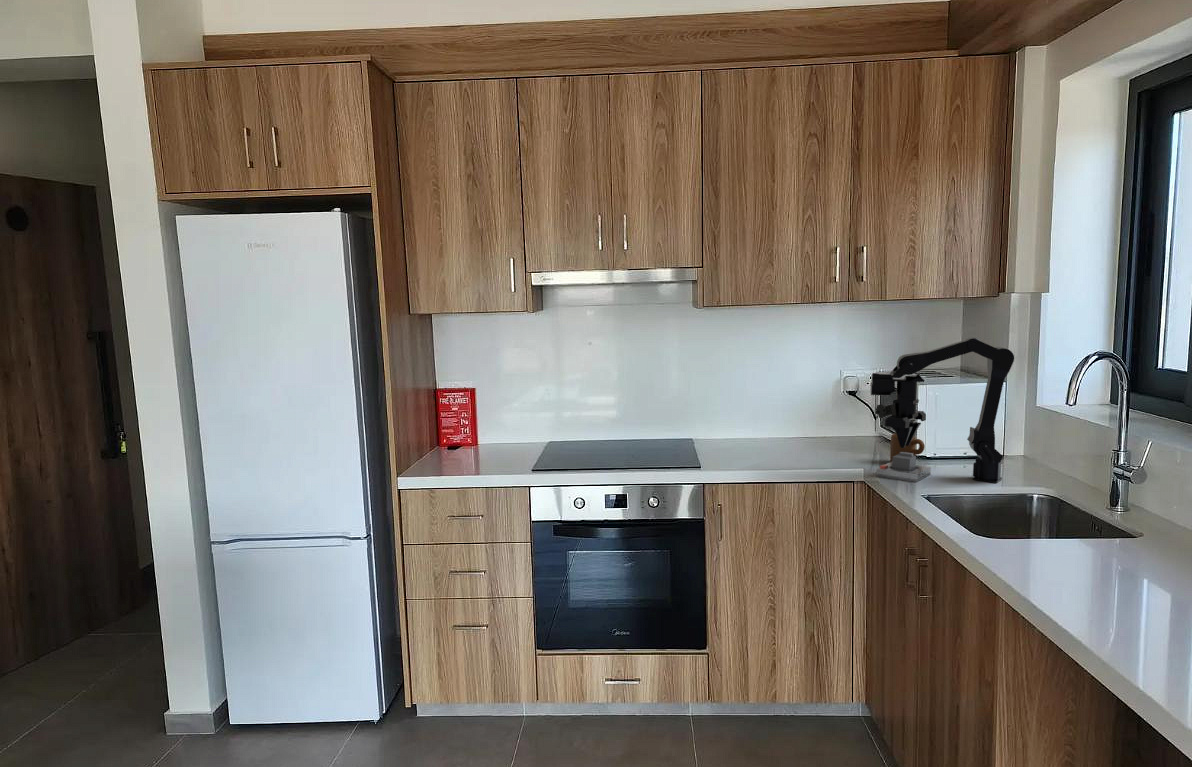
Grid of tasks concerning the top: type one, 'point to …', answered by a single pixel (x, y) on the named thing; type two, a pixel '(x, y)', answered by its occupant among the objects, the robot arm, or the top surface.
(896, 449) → the mug
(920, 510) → the top surface
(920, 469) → the socket plate
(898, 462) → the plug
